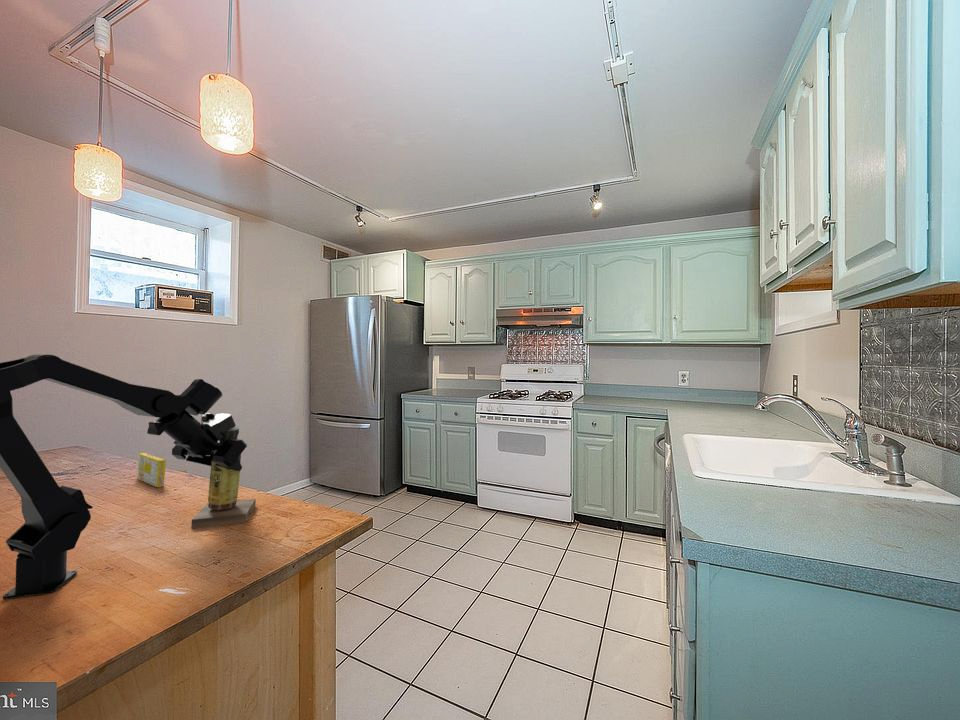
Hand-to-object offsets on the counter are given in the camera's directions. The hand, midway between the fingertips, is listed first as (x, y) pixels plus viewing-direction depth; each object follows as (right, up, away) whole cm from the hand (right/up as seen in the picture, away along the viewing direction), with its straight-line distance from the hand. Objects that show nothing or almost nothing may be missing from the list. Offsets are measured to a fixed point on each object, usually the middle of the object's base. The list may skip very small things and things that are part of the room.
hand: (231, 468), depth 98 cm
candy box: (-41, -11, +24) cm, 49 cm away
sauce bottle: (-2, -10, -1) cm, 10 cm away
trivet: (-1, -12, -1) cm, 12 cm away
